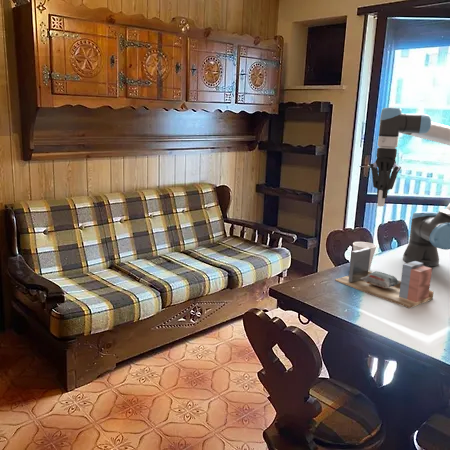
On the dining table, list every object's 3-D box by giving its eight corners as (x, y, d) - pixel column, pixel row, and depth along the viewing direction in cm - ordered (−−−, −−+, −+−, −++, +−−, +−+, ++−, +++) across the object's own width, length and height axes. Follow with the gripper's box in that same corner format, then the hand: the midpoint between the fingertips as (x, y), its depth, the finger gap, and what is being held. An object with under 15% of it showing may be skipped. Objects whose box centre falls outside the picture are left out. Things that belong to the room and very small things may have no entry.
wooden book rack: (358, 275, 194) (361, 244, 191) (432, 299, 170) (437, 264, 167) (335, 281, 185) (337, 249, 182) (409, 308, 161) (414, 271, 158)
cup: (375, 273, 197) (378, 248, 194) (351, 271, 198) (353, 246, 196) (372, 266, 206) (375, 242, 204) (349, 265, 208) (351, 240, 205)
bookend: (364, 276, 188) (367, 247, 185) (367, 278, 187) (370, 248, 184) (348, 281, 182) (351, 251, 179) (351, 282, 181) (354, 252, 178)
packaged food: (387, 293, 171) (389, 280, 170) (359, 283, 179) (361, 271, 178) (399, 288, 177) (401, 276, 176) (371, 279, 185) (373, 267, 184)
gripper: (367, 146, 190) (361, 204, 196) (396, 148, 181) (389, 209, 186) (378, 146, 195) (372, 202, 200) (407, 148, 185) (400, 207, 190)
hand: (380, 205), depth 193 cm, fingers closed
